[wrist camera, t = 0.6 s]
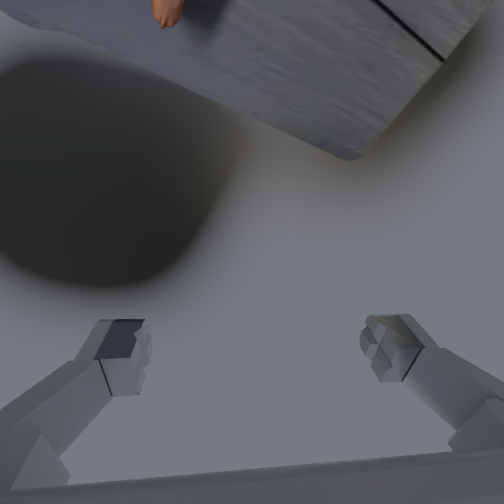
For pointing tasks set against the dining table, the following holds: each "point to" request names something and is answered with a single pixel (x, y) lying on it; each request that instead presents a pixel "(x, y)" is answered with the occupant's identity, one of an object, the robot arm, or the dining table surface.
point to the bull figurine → (167, 11)
